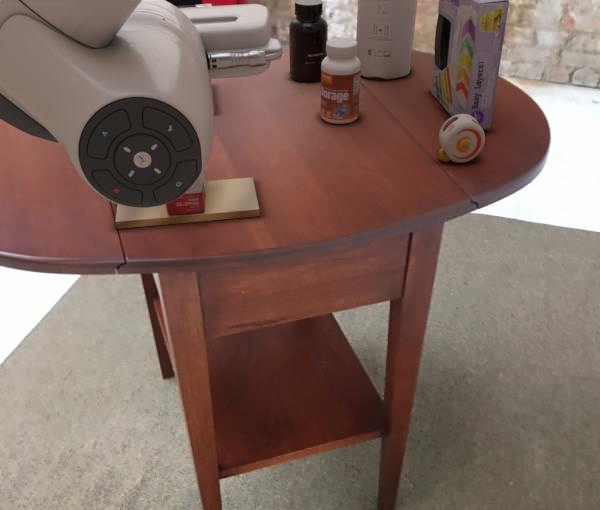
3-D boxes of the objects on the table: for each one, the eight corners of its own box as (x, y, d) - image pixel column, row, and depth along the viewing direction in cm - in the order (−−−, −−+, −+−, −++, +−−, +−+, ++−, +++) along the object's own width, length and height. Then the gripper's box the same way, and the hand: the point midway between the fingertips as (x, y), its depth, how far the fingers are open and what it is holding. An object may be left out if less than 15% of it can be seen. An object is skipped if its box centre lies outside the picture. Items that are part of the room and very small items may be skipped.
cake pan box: (426, 90, 111) (440, -30, 98) (453, 88, 111) (471, -32, 98) (459, 135, 97) (480, 2, 85) (491, 132, 98) (516, 0, 85)
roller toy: (484, 164, 90) (492, 123, 86) (440, 167, 90) (446, 126, 85) (475, 151, 93) (482, 110, 89) (432, 153, 93) (438, 113, 89)
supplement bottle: (315, 85, 113) (315, 8, 105) (283, 79, 116) (280, 4, 107) (333, 73, 117) (335, -1, 109) (301, 67, 120) (300, -6, 111)
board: (116, 229, 79) (114, 221, 78) (120, 195, 85) (119, 188, 85) (259, 216, 81) (259, 209, 80) (253, 183, 87) (252, 177, 86)
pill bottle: (314, 121, 102) (313, 45, 94) (330, 107, 106) (331, 34, 98) (349, 127, 100) (352, 50, 92) (364, 113, 104) (368, 38, 96)
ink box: (205, 214, 79) (192, 118, 71) (166, 216, 79) (148, 120, 71) (207, 182, 85) (195, 90, 77) (171, 184, 85) (155, 92, 77)
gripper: (284, 12, 46) (264, -31, 56) (-6, 29, 44) (26, -18, 54) (287, 102, 51) (268, 48, 60) (24, 120, 49) (48, 62, 58)
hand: (152, 17), depth 57 cm, fingers open, 8 cm apart
